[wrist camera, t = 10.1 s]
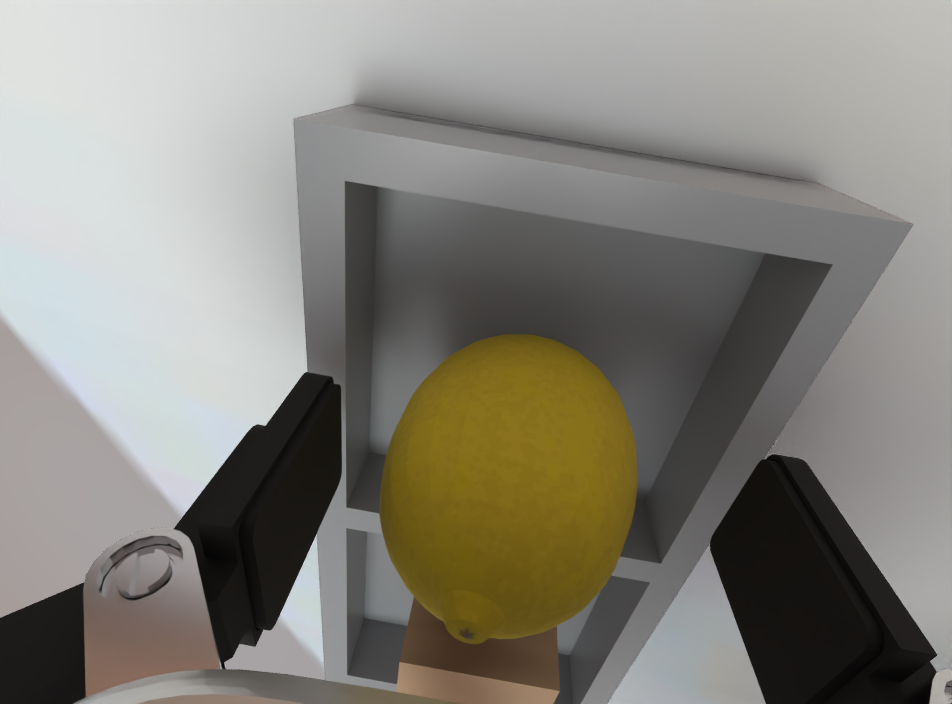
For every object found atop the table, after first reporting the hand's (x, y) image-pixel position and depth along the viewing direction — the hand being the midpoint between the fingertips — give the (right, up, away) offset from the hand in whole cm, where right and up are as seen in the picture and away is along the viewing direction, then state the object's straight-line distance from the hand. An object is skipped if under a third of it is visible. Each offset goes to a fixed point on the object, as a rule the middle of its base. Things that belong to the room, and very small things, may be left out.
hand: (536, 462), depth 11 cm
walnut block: (-1, -7, +9) cm, 12 cm away
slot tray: (0, -2, +7) cm, 8 cm away
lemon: (+1, +2, +4) cm, 4 cm away
